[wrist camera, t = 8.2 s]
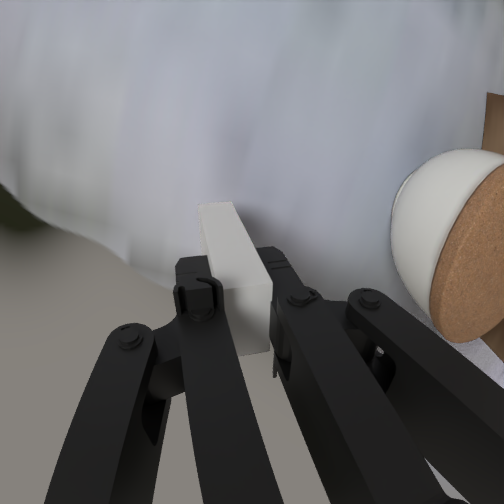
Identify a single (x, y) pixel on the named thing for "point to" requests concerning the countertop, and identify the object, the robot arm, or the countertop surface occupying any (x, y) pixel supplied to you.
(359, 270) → the countertop surface
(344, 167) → the countertop surface
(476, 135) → the countertop surface
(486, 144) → the board
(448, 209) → the lidded jar
